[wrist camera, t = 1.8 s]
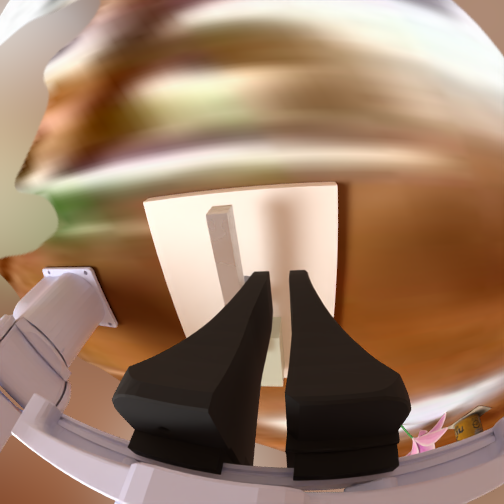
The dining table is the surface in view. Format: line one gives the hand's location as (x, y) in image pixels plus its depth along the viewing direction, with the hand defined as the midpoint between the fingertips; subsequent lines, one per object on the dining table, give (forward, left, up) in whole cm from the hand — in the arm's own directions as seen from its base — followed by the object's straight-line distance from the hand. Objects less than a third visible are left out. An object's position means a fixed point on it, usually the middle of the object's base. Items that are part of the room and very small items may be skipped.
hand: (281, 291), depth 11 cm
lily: (+22, -38, -10) cm, 45 cm away
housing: (-4, -8, -9) cm, 13 cm away
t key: (-4, -4, -8) cm, 10 cm away
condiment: (+36, -43, -10) cm, 57 cm away
